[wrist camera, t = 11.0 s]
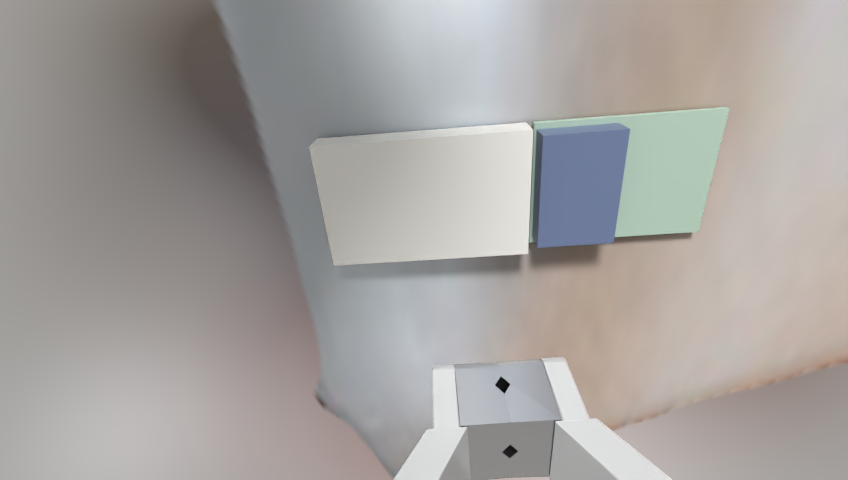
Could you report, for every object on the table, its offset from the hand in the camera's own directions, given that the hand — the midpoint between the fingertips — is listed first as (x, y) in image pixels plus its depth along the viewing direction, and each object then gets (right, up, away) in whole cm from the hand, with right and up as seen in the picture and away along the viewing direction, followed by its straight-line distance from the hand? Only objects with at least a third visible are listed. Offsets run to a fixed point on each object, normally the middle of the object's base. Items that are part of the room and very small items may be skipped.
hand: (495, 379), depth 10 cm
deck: (-2, +7, +24) cm, 25 cm away
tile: (+10, +8, +23) cm, 26 cm away
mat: (+14, +8, +24) cm, 28 cm away
